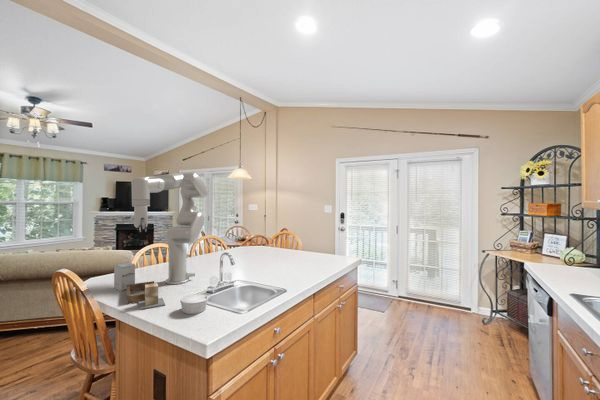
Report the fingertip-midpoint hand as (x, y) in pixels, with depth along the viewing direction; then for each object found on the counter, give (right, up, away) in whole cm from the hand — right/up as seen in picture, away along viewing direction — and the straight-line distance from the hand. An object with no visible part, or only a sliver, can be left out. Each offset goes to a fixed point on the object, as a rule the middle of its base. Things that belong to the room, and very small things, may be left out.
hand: (141, 238), depth 138 cm
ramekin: (+30, -29, -14) cm, 44 cm away
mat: (+9, -29, -8) cm, 31 cm away
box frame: (-2, -28, +4) cm, 29 cm away
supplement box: (-18, -29, +16) cm, 37 cm away
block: (+9, -28, -8) cm, 30 cm away
